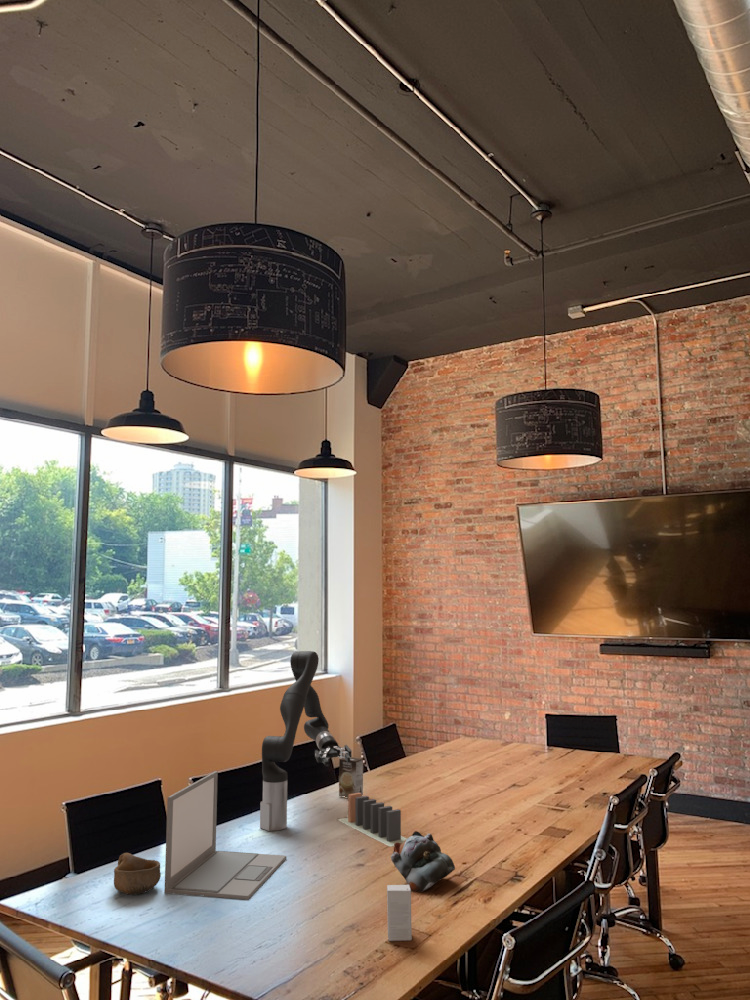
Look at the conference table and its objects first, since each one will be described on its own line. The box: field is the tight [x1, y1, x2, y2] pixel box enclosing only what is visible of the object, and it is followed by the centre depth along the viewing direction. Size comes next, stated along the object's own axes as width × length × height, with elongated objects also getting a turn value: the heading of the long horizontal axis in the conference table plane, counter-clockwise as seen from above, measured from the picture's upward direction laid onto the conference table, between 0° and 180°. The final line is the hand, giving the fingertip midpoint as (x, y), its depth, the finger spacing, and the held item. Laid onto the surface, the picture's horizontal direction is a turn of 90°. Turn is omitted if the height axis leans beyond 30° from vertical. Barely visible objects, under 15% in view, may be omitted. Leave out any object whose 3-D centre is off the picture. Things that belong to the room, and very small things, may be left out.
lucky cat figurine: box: [390, 830, 456, 893], centre depth 229 cm, size 17×14×16 cm
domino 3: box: [363, 798, 377, 830], centre depth 281 cm, size 2×5×10 cm, turn 122°
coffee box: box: [338, 756, 364, 797], centre depth 328 cm, size 9×6×16 cm
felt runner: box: [337, 817, 408, 848], centre depth 278 cm, size 38×10×1 cm, turn 32°
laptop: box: [163, 770, 287, 900], centre depth 237 cm, size 35×26×27 cm
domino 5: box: [378, 805, 393, 838], centre depth 272 cm, size 2×5×10 cm, turn 122°
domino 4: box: [370, 802, 385, 834], centre depth 277 cm, size 2×5×10 cm, turn 122°
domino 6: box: [387, 808, 402, 842], centre depth 268 cm, size 2×5×10 cm, turn 122°
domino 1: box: [347, 793, 362, 823], centre depth 291 cm, size 2×5×10 cm, turn 122°
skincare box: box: [386, 884, 413, 942], centre depth 192 cm, size 6×4×12 cm
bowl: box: [113, 852, 161, 896], centre depth 223 cm, size 18×14×10 cm
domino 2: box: [355, 795, 370, 826], centre depth 286 cm, size 2×5×10 cm, turn 121°
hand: (338, 762), depth 298 cm, fingers open, 8 cm apart
